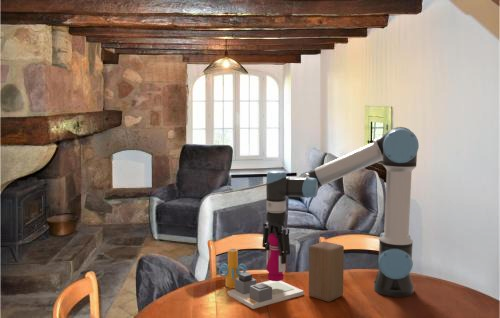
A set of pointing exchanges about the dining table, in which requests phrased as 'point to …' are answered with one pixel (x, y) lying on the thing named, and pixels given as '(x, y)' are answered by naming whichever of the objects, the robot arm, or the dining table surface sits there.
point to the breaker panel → (263, 292)
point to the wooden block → (326, 271)
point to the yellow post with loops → (232, 268)
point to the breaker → (245, 276)
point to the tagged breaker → (260, 286)
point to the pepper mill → (274, 260)
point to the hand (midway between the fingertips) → (275, 268)
